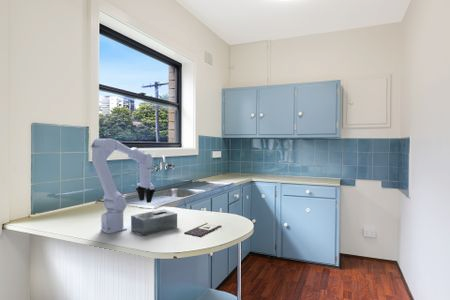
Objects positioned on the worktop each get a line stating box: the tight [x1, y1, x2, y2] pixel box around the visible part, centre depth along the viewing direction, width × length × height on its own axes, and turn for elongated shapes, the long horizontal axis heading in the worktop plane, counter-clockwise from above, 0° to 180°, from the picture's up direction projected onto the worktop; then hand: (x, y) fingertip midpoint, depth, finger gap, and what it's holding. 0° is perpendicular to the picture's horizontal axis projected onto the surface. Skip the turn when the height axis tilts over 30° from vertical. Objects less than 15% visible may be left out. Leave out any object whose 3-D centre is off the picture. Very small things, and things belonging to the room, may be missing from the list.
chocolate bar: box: [184, 222, 222, 238], centre depth 134 cm, size 9×1×18 cm
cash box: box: [130, 209, 178, 237], centre depth 136 cm, size 18×12×7 cm, turn 135°
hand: (145, 201), depth 150 cm, fingers open, 7 cm apart
